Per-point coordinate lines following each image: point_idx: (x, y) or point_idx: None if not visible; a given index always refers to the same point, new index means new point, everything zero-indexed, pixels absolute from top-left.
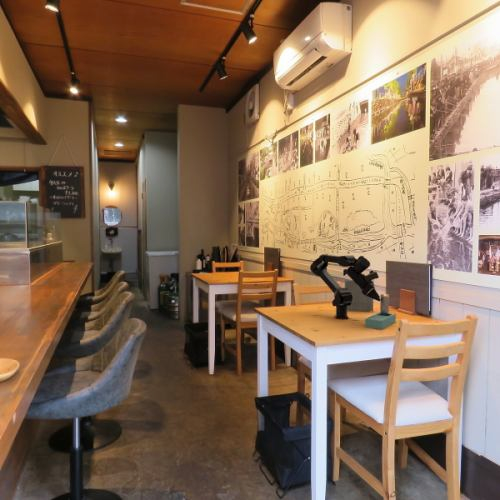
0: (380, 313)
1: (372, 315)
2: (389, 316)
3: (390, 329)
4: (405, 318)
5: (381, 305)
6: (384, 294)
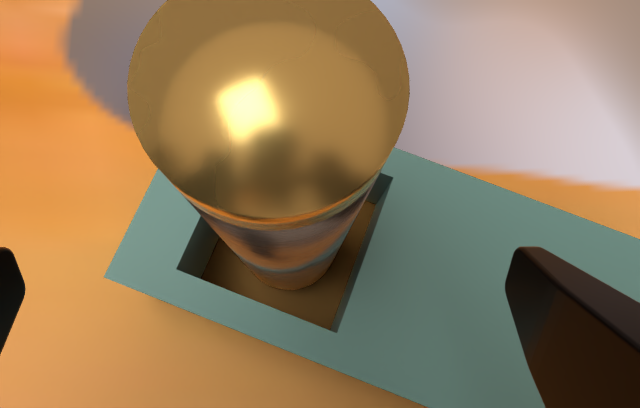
0: (304, 277)
1: (413, 400)
2: (405, 165)
3: (601, 197)
4: (24, 12)
5: (335, 245)
6: (241, 87)
